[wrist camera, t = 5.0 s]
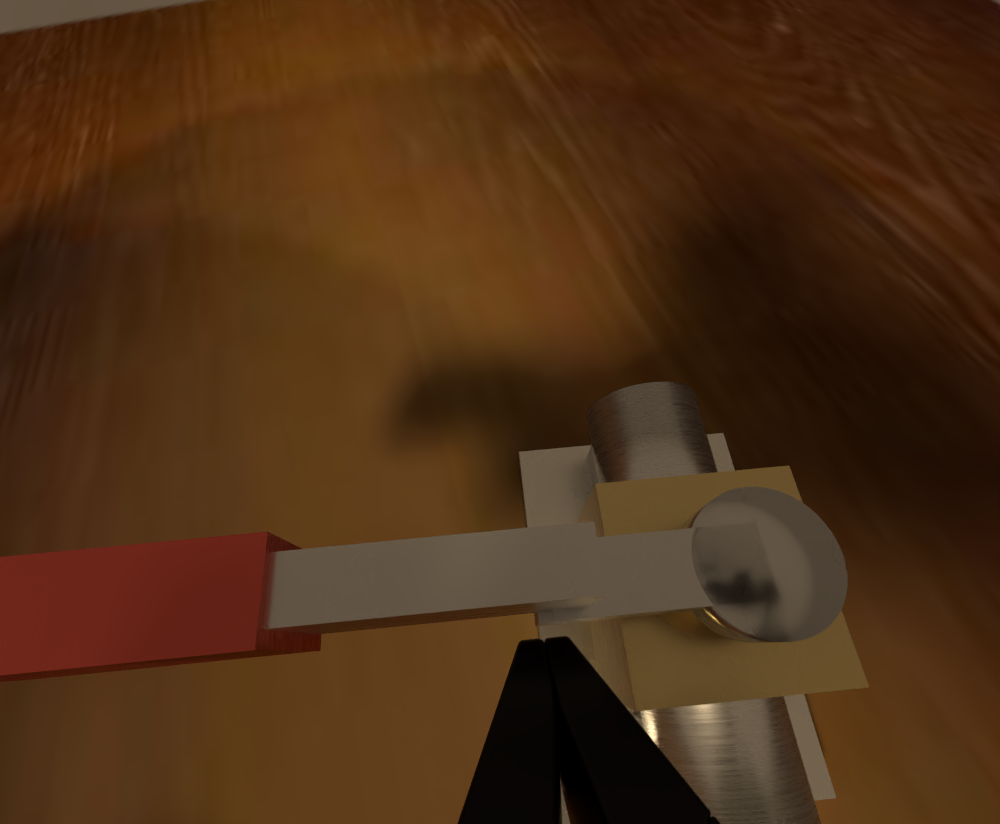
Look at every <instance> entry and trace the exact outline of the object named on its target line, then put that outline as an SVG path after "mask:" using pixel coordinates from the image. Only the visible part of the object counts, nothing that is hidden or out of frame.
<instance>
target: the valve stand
mask: <svg viewBox="0 0 1000 824" xmlns="http://www.w3.org/2000/svg"><path fill="white" fill-rule="evenodd" d="M586 418H587V424H588V429H589V435H590V440H591V445H587V446H576V447H565V448H554V449H544V450H533V451H522V452H519V469H520V478H521V487H522V496H523V505H524V513H525V522H526V528H529V527H540V526H550V525H561V524H571V523H582V522H592V521H594V523H595V529H596V535H597V537H604V536H615V535H625V534H635V533H646V532H656V531H667V530H677V529H680V528H681V526H682V525H683V524H684V522H685V521H686V520H687V519H688V518H689V517H691V516H692V515H693V514H694V513H696V512H697V511H698V510H700V509H701V508H702V507H704V506H705V505H706V504H708V503H709V502H710V501H712V500H713V499H714V498H716V497H717V496H719V495H720V494H722V493H724V492H727V491H729V490H732V489H736V488H741V487H764V488H769V489H774V490H777V491H780V492H783V493H785V494H787V495H789V496H792V497H794V498H795V499H797V500H799V501H800V502H802V499H801V497H800V494H799V491H798V488H797V486H796V483H795V480H794V477H793V475H792V472H791V469H790V466H778V467H768V468H757V469H747V470H736V471H735V469H734V466H733V463H732V460H731V456H730V453H729V450H728V447H727V443H726V440H725V437H724V434H723V433H717V434H706V430H705V427H704V423H703V420H702V417H701V413H700V410H699V406H698V403H697V400H696V396H695V393H694V391H693V390H692V389H691V388H690V387H689V386H686V385H684V384H681V383H675V382H650V383H643V384H637V385H633V386H629V387H626V388H622V389H620V390H617V391H614V392H612V393H610V394H608V395H606V396H604V397H602V398H600V399H599V400H597V401H596V402H595V403H594V404H592V405H591V406H590V408H589V409H588V411H587V414H586ZM802 503H803V502H802ZM537 628H538V637H539V639H542V640H543V641H545V639H546V638H549V637H559V636H567V637H569V638H570V639H571V640H572V641H573V643H574V644H575V645H576V646H577V647H578V649H579V650H580V651H581V652H582V654H583V655H584V656H585V657H586V659H587V660H588V661H589V662H590V663H591V665H592V666H593V667H594V668H595V670H596V671H597V672H598V673H599V675H600V676H601V677H602V678H603V679H604V681H605V682H606V683H607V684H608V686H609V687H610V688H611V689H612V691H613V692H614V693H615V694H616V695H617V697H618V698H619V699H620V700H621V702H622V703H623V704H624V705H625V707H626V708H627V709H628V710H629V711H630V713H631V714H632V715H633V716H634V718H635V719H636V720H637V721H638V723H639V724H640V725H641V726H642V727H643V729H644V730H645V731H646V732H647V734H648V735H649V736H650V737H651V739H652V740H653V741H654V742H655V744H656V745H657V746H658V747H659V748H660V750H661V751H662V752H663V753H664V755H665V756H666V757H667V758H668V760H669V761H670V762H671V763H672V764H673V766H674V767H675V768H676V769H677V771H678V772H679V773H680V774H681V776H682V777H683V778H684V779H685V780H686V782H687V783H688V784H689V785H690V787H691V788H692V789H693V790H694V792H695V793H696V794H697V795H698V796H699V798H700V799H701V800H702V801H703V803H704V804H705V805H706V806H707V808H708V809H709V810H710V812H711V817H712V816H714V817H716V818H717V819H718V821H719V822H720V823H721V824H821V822H820V818H819V815H818V812H817V808H816V805H815V801H814V800H823V799H832V798H836V795H835V792H834V789H833V786H832V782H831V779H830V776H829V773H828V770H827V766H826V763H825V760H824V757H823V753H822V750H821V747H820V744H819V740H818V737H817V734H816V731H815V728H814V724H813V721H812V718H811V715H810V711H809V708H808V705H807V702H806V698H805V695H804V694H809V693H819V692H829V691H838V690H848V689H858V688H867V687H869V685H868V682H867V680H866V677H865V674H864V671H863V668H862V666H861V663H860V660H859V657H858V655H857V652H856V649H855V646H854V644H853V641H852V638H851V635H850V632H849V630H848V627H847V624H846V621H845V619H844V616H843V613H842V610H841V611H840V613H839V615H838V616H837V618H836V619H835V620H834V622H833V623H832V624H831V625H830V626H829V627H828V628H826V629H825V630H824V631H823V632H821V633H819V634H817V635H816V636H814V637H811V638H808V639H805V640H801V641H795V642H772V643H745V642H739V641H735V640H731V639H729V638H726V637H724V636H721V635H720V634H718V633H716V632H714V631H712V630H711V629H710V628H708V627H707V626H705V625H704V624H703V623H702V622H701V621H700V620H698V619H697V618H696V617H695V615H694V614H693V613H692V612H691V611H686V612H676V613H666V614H656V615H646V616H636V617H626V618H616V619H606V620H596V621H586V622H576V623H566V624H556V625H546V626H537ZM560 784H561V780H560ZM561 802H562V824H570V821H569V817H568V813H567V809H566V804H565V800H564V795H563V791H562V786H561Z"/></svg>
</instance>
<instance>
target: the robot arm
mask: <svg viewBox="0 0 1000 824" xmlns="http://www.w3.org/2000/svg"><path fill="white" fill-rule="evenodd" d="M560 780H561V784H560ZM561 786H562V791H563V795H564V800H565V804H566V809H567V813H568V817H569V821H570V824H721V823H720V822H719V821H718V819H717V818H716V817H714V816H712V817H711V812H710V810H709V809H708V808H707V806H706V805H705V804H704V803H703V801H702V800H701V799H700V798H699V796H698V795H697V794H696V793H695V792H694V790H693V789H692V788H691V787H690V785H689V784H688V783H687V782H686V780H685V779H684V778H683V777H682V776H681V774H680V773H679V772H678V771H677V769H676V768H675V767H674V766H673V764H672V763H671V762H670V761H669V760H668V758H667V757H666V756H665V755H664V753H663V752H662V751H661V750H660V748H659V747H658V746H657V745H656V744H655V742H654V741H653V740H652V739H651V737H650V736H649V735H648V734H647V732H646V731H645V730H644V729H643V727H642V726H641V725H640V724H639V723H638V721H637V720H636V719H635V718H634V716H633V715H632V714H631V713H630V711H629V710H628V709H627V708H626V707H625V705H624V704H623V703H622V702H621V700H620V699H619V698H618V697H617V695H616V694H615V693H614V692H613V691H612V689H611V688H610V687H609V686H608V684H607V683H606V682H605V681H604V679H603V678H602V677H601V676H600V675H599V673H598V672H597V671H596V670H595V668H594V667H593V666H592V665H591V663H590V662H589V661H588V660H587V659H586V657H585V656H584V655H583V654H582V652H581V651H580V650H579V649H578V647H577V646H576V645H575V644H574V643H573V641H572V640H571V639H570V638H569V637H567V636H559V637H549V638H546V639H545V641H543V640H542V639H530V640H522V641H520V642H519V644H518V646H517V649H516V652H515V655H514V658H513V661H512V664H511V667H510V670H509V673H508V676H507V679H506V682H505V685H504V688H503V691H502V694H501V696H500V699H499V702H498V705H497V708H496V711H495V714H494V717H493V720H492V723H491V726H490V729H489V732H488V735H487V738H486V741H485V744H484V747H483V750H482V753H481V756H480V759H479V762H478V765H477V768H476V771H475V774H474V776H473V779H472V782H471V785H470V788H469V791H468V794H467V797H466V800H465V803H464V806H463V809H462V812H461V815H460V818H459V821H458V824H562V802H561Z"/></svg>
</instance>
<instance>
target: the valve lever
mask: <svg viewBox="0 0 1000 824" xmlns="http://www.w3.org/2000/svg"><path fill="white" fill-rule="evenodd" d="M847 584H848V581H847V569H846V564H845V560H844V557H843V554H842V551H841V549H840V546H839V544H838V542H837V540H836V539H835V537H834V535H833V533H832V532H831V531H830V529H829V528H828V526H827V525H826V524H825V523H824V522H823V520H822V519H821V518H820V517H819V516H818V515H817V514H816V513H815V512H814V511H812V510H811V509H810V508H809V507H807V506H806V505H805V504H803V503H802V502H800V501H799V500H797V499H795V498H794V497H792V496H789V495H787V494H785V493H783V492H780V491H777V490H774V489H769V488H764V487H741V488H736V489H732V490H729V491H727V492H724V493H722V494H720V495H719V496H717V497H716V498H714V499H713V500H712V501H710V502H709V503H708V504H706V505H705V506H704V507H702V508H701V509H700V510H698V511H697V512H696V513H694V514H693V515H692V516H691V517H689V518H688V519H687V520H686V521H685V522H684V524H683V525H682V526H681V528H680V529H677V530H667V531H656V532H646V533H635V534H625V535H615V536H604V537H597V535H596V529H595V523H594V521H592V522H582V523H571V524H561V525H550V526H540V527H529V528H519V529H508V530H498V531H488V532H477V533H467V534H456V535H446V536H435V537H425V538H414V539H404V540H393V541H383V542H372V543H362V544H351V545H341V546H330V547H320V548H310V549H302V548H300V547H297V546H295V545H293V544H291V543H289V542H287V541H285V540H283V539H281V538H279V537H277V536H275V535H273V534H271V533H269V532H261V533H250V534H240V535H229V536H218V537H208V538H197V539H187V540H176V541H166V542H155V543H144V544H134V545H123V546H113V547H102V548H92V549H81V550H70V551H60V552H49V553H39V554H28V555H18V556H7V557H0V682H3V681H20V680H31V679H41V678H51V677H61V676H71V675H81V674H91V673H101V672H111V671H121V670H131V669H141V668H151V667H161V666H171V665H181V664H191V663H201V662H211V661H221V660H231V659H242V658H252V657H262V656H272V655H282V654H292V653H302V652H312V651H320V647H321V634H326V633H337V632H347V631H357V630H367V629H377V628H387V627H397V626H407V625H417V624H427V623H438V622H448V621H458V620H468V619H478V618H488V617H498V616H508V615H518V614H528V613H534V616H535V625H536V626H546V625H556V624H566V623H576V622H586V621H596V620H606V619H616V618H626V617H636V616H646V615H656V614H666V613H676V612H686V611H691V612H692V613H693V614H694V615H695V617H696V618H697V619H698V620H700V621H701V622H702V623H703V624H704V625H705V626H707V627H708V628H710V629H711V630H712V631H714V632H716V633H718V634H720V635H721V636H724V637H726V638H729V639H731V640H735V641H739V642H745V643H772V642H795V641H801V640H805V639H808V638H811V637H814V636H816V635H817V634H819V633H821V632H823V631H824V630H825V629H826V628H828V627H829V626H830V625H831V624H832V623H833V622H834V620H835V619H836V618H837V616H838V615H839V613H840V611H841V609H842V607H843V604H844V602H845V598H846V594H847Z"/></svg>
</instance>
